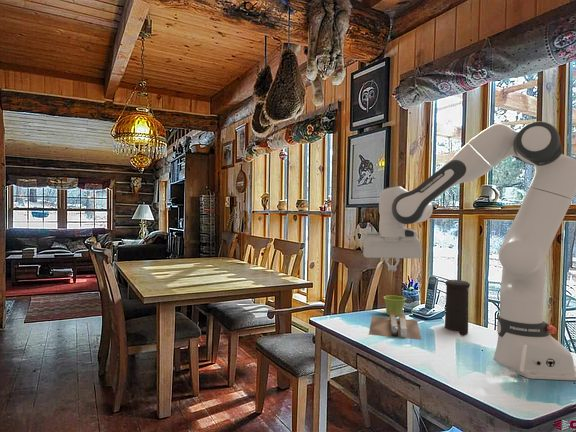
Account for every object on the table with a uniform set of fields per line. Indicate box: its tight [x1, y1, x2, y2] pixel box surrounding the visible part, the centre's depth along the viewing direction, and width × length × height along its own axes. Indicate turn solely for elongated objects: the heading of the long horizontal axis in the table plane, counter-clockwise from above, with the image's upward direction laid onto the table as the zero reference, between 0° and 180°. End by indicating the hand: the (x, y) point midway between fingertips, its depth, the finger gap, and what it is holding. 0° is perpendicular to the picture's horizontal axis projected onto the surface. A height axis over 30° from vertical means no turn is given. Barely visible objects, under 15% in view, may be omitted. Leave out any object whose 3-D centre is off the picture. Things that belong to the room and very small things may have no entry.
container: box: [444, 279, 471, 336], centre depth 147 cm, size 9×9×20 cm
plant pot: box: [383, 295, 407, 317], centre depth 167 cm, size 9×9×9 cm
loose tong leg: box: [389, 313, 398, 336], centre depth 146 cm, size 2×22×3 cm, turn 167°
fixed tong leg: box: [398, 313, 408, 339], centre depth 145 cm, size 2×22×3 cm, turn 165°
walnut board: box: [368, 316, 422, 341], centre depth 147 cm, size 18×25×2 cm
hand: (392, 270), depth 137 cm, fingers closed
